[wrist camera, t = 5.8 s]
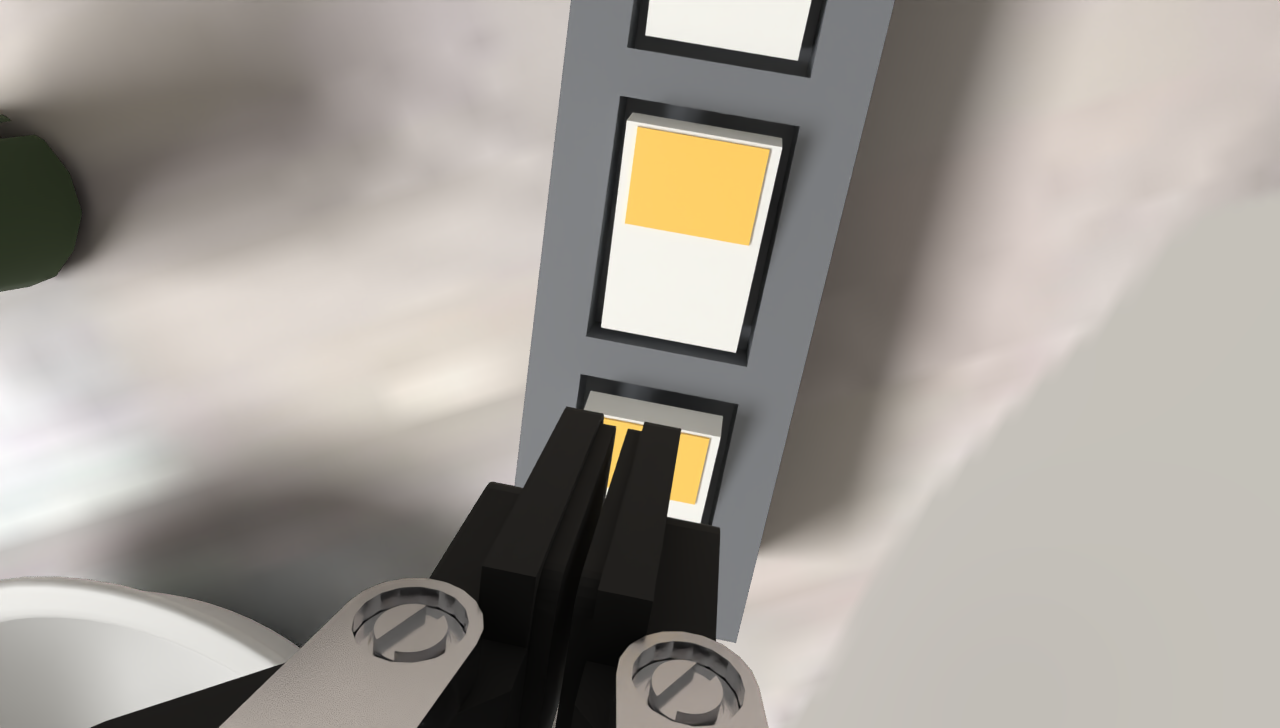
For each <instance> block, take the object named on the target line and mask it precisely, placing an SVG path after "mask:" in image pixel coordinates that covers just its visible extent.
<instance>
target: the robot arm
mask: <svg viewBox="0 0 1280 728" xmlns="http://www.w3.org/2000/svg"><path fill="white" fill-rule="evenodd" d="M603 423H604V414H603V413H598V412H593V411H588V410H583V409H578V408H572V407H567V406H566V408H565V409H564V411H563V413H562V415H561V417H560V419H559V421H558V423H557V424H556V426H555V428H554V430H553V432H552V434H551V436H550V438H549V440H548V441H547V443H546V445H545V447H544V449H543V451H542V453H541V455H540V457H539V459H538V460H537V462H536V464H535V466H534V468H533V470H532V472H531V474H530V476H529V478H528V479H527V481H526V483H525V485H524V487H523V488H521V487H516V486H511V485H506V484H501V483H496V482H490V483H489V484H488V485H487V486H486V488H485V489H484V491H483V492H482V494H481V496H480V497H479V499H478V501H477V502H476V504H475V505H474V507H473V509H472V510H471V512H470V513H469V515H468V517H467V518H466V520H465V522H464V523H463V525H462V526H461V528H460V530H459V531H458V533H457V534H456V536H455V538H454V539H453V541H452V543H451V544H450V546H449V547H448V549H447V551H446V552H445V554H444V555H443V557H442V559H441V560H440V562H439V564H438V565H437V567H436V568H435V570H434V572H433V573H432V575H431V576H430V578H429V579H428V578H403V579H398V580H392V581H387V582H383V583H380V584H378V585H375V586H373V587H370V588H368V589H366V590H364V591H362V592H361V593H359V594H358V595H357V596H355V597H354V598H353V599H351V600H350V601H348V602H347V603H346V604H345V605H344V606H343V607H342V608H341V609H340V610H339V611H338V612H337V613H336V614H335V615H334V616H333V617H332V618H331V619H330V620H329V621H328V622H327V623H326V624H325V625H324V626H323V627H322V628H321V629H320V630H319V631H318V632H317V633H316V634H315V635H313V636H312V637H311V638H310V639H309V640H308V641H307V642H306V643H305V644H304V645H303V646H302V647H301V648H300V649H299V650H298V651H297V652H296V653H295V654H294V655H293V656H292V657H291V658H290V659H289V660H288V661H287V662H286V663H283V664H280V665H277V666H273V667H270V668H267V669H264V670H261V671H258V672H255V673H252V674H249V675H246V676H243V677H240V678H237V679H233V680H230V681H227V682H224V683H221V684H218V685H215V686H212V687H209V688H206V689H203V690H200V691H197V692H193V693H190V694H187V695H184V696H181V697H178V698H175V699H172V700H169V701H166V702H163V703H160V704H157V705H153V706H150V707H147V708H144V709H141V710H138V711H135V712H132V713H129V714H126V715H123V716H120V717H116V718H113V719H110V720H107V721H104V722H102V723H100V724H97V725H95V726H93V727H90V728H552V725H553V721H554V718H555V714H556V711H557V708H558V704H559V708H558V714H557V721H556V727H555V728H768V723H767V719H766V715H765V710H764V706H763V702H762V697H761V693H760V688H759V686H758V684H757V681H756V679H755V677H754V674H753V672H752V671H751V669H750V668H749V667H748V666H747V665H746V664H745V662H744V661H743V660H742V659H741V658H740V657H739V656H738V655H737V654H735V653H734V652H733V651H731V650H730V649H728V648H727V647H726V646H724V645H723V644H721V643H718V642H716V627H717V603H718V579H719V555H720V527H716V526H711V525H706V524H701V523H696V522H691V521H686V520H681V519H676V518H671V517H667V514H668V508H669V501H670V495H671V489H672V483H673V477H674V471H675V465H676V459H677V453H678V447H679V441H680V435H681V428H676V427H670V426H665V425H660V424H655V423H650V422H644V425H643V428H642V431H639V430H634V429H627V432H626V435H625V439H624V442H623V445H622V448H621V451H620V454H619V457H618V461H617V464H616V467H615V470H614V473H613V476H612V479H611V483H610V486H609V489H608V492H607V495H606V491H607V485H608V479H609V473H610V467H611V461H612V454H613V448H614V442H615V435H616V426H613V425H608V424H603Z"/></svg>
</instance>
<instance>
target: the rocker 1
mask: <svg viewBox="0 0 1280 728" xmlns="http://www.w3.org/2000/svg"><path fill="white" fill-rule="evenodd" d="M584 410H588V411H593V412H598V413H603V414H604V423H603V424H608V425H613V426H616V435H615V442H614V448H613V454H612V461H611V467H610V473H609V479H608V485H607V491H606V495H607V492H608V489H609V486H610V483H611V479H612V476H613V473H614V470H615V467H616V464H617V461H618V457H619V454H620V451H621V448H622V445H623V442H624V439H625V435H626V432H627V429H634V430H639V431H642V428H643V425H644V422H650V423H655V424H660V425H665V426H670V427H676V428H681V435H680V441H679V447H678V453H677V459H676V465H675V471H674V477H673V483H672V489H671V495H670V501H669V508H668V514H667V517H671V518H676V519H681V520H686V521H691V522H696V523H701V518H702V514H703V510H704V506H705V501H706V497H707V493H708V489H709V485H710V480H711V476H712V472H713V468H714V463H715V459H716V455H717V451H718V447H719V442H720V438H721V430H722V421H723V416H719V415H714V414H709V413H704V412H699V411H694V410H688V409H683V408H678V407H673V406H668V405H663V404H657V403H652V402H647V401H642V400H637V399H631V398H626V397H621V396H616V395H611V394H606V393H600V392H595V391H590V394H589V397H588V399H587V402H586V405H585V408H584Z"/></svg>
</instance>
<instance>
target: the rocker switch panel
mask: <svg viewBox="0 0 1280 728" xmlns="http://www.w3.org/2000/svg"><path fill="white" fill-rule="evenodd" d="M894 2H895V0H811V5H810V9H809V14H808V18H807V22H806V27H805V31H804V35H803V40H802V44H801V49H800V53H799V57H798V61H796V60H790V59H784V58H778V57H772V56H766V55H760V54H754V53H748V52H742V51H736V50H730V49H724V48H718V47H712V46H706V45H700V44H694V43H688V42H682V41H676V40H670V39H664V38H658V37H652V36H646V35H645V34H646V25H647V17H648V9H649V0H571V5H570V13H569V22H568V30H567V39H566V48H565V56H564V65H563V73H562V82H561V91H560V99H559V108H558V116H557V125H556V134H555V142H554V151H553V159H552V168H551V177H550V185H549V194H548V203H547V211H546V220H545V228H544V237H543V246H542V254H541V263H540V271H539V280H538V289H537V297H536V306H535V314H534V323H533V332H532V340H531V349H530V357H529V366H528V375H527V383H526V392H525V401H524V409H523V418H522V426H521V435H520V444H519V452H518V461H517V469H516V478H515V486H516V487H521V488H523V487H524V485H525V483H526V481H527V479H528V478H529V476H530V474H531V472H532V470H533V468H534V466H535V464H536V462H537V460H538V459H539V457H540V455H541V453H542V451H543V449H544V447H545V445H546V443H547V441H548V440H549V438H550V436H551V434H552V432H553V430H554V428H555V426H556V424H557V423H558V421H559V419H560V417H561V415H562V413H563V411H564V409H565V408H566V406H567V407H572V408H578V409H583V410H584V408H585V405H586V402H587V399H588V397H589V394H590V391H595V392H600V393H606V394H611V395H616V396H621V397H626V398H631V399H637V400H642V401H647V402H652V403H657V404H663V405H668V406H673V407H678V408H683V409H688V410H694V411H699V412H704V413H709V414H714V415H719V416H723V421H722V430H721V438H720V442H719V447H718V451H717V455H716V459H715V463H714V468H713V472H712V476H711V480H710V485H709V489H708V493H707V497H706V501H705V506H704V510H703V514H702V518H701V524H706V525H711V526H716V527H720V555H719V579H718V603H717V627H716V639H719V640H724V641H729V642H734V643H736V641H737V636H738V632H739V628H740V624H741V620H742V616H743V612H744V608H745V604H746V600H747V596H748V592H749V588H750V584H751V580H752V576H753V572H754V568H755V564H756V560H757V556H758V552H759V548H760V544H761V539H762V535H763V531H764V527H765V523H766V519H767V515H768V511H769V507H770V503H771V499H772V495H773V491H774V487H775V483H776V479H777V475H778V471H779V467H780V463H781V459H782V455H783V451H784V446H785V442H786V438H787V434H788V430H789V426H790V422H791V418H792V414H793V410H794V406H795V402H796V398H797V394H798V390H799V386H800V382H801V378H802V374H803V370H804V366H805V362H806V358H807V354H808V349H809V345H810V341H811V337H812V333H813V329H814V325H815V321H816V317H817V313H818V309H819V305H820V301H821V297H822V293H823V289H824V285H825V281H826V277H827V273H828V269H829V265H830V261H831V257H832V252H833V248H834V244H835V240H836V236H837V232H838V228H839V224H840V220H841V216H842V212H843V208H844V204H845V200H846V196H847V192H848V188H849V184H850V180H851V176H852V172H853V168H854V164H855V160H856V155H857V151H858V147H859V143H860V139H861V135H862V131H863V127H864V123H865V119H866V115H867V111H868V107H869V103H870V99H871V95H872V91H873V87H874V83H875V79H876V75H877V71H878V67H879V62H880V58H881V54H882V50H883V46H884V42H885V38H886V34H887V30H888V26H889V22H890V18H891V14H892V10H893V6H894ZM633 112H634V113H640V114H646V115H651V116H657V117H663V118H669V119H675V120H680V121H686V122H692V123H698V124H704V125H709V126H715V127H721V128H727V129H733V130H738V131H744V132H750V133H756V134H762V135H767V136H773V137H779V138H782V151H781V156H780V160H779V165H778V169H777V173H776V178H775V182H774V187H773V191H772V196H771V200H770V204H769V209H768V213H767V218H766V222H765V227H764V231H763V235H762V240H761V244H760V249H759V253H758V257H757V262H756V266H755V271H754V275H753V280H752V284H751V288H750V293H749V297H748V302H747V306H746V311H745V315H744V319H743V324H742V328H741V333H740V337H739V342H738V346H737V350H736V353H734V352H729V351H724V350H718V349H713V348H708V347H702V346H697V345H692V344H687V343H681V342H676V341H671V340H665V339H660V338H655V337H649V336H644V335H639V334H633V333H628V332H623V331H618V330H612V329H607V328H602V327H601V324H602V315H603V307H604V299H605V291H606V283H607V275H608V267H609V259H610V251H611V243H612V235H613V227H614V219H615V211H616V203H617V195H618V187H619V179H620V171H621V163H622V155H623V147H624V139H625V131H626V123H627V119H628V118H629V117H630V115H631V114H632V113H633Z"/></svg>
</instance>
